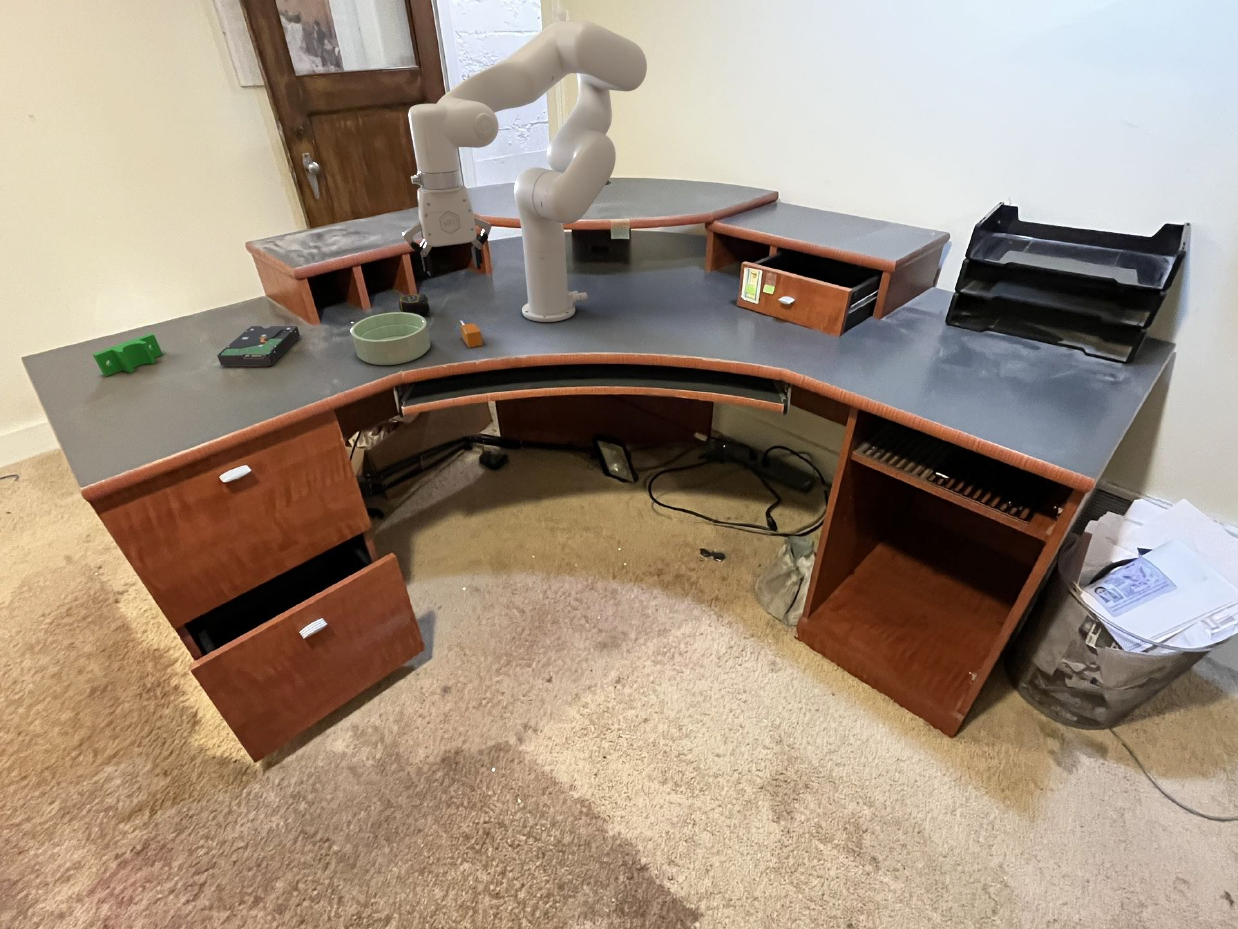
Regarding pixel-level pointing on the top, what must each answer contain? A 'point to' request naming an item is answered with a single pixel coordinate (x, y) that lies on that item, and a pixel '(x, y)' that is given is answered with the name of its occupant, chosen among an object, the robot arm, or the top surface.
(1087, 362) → the top surface
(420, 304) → the tape measure
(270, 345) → the disk drive
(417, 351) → the bowl
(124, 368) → the pipe clamp
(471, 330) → the orange block with pin
